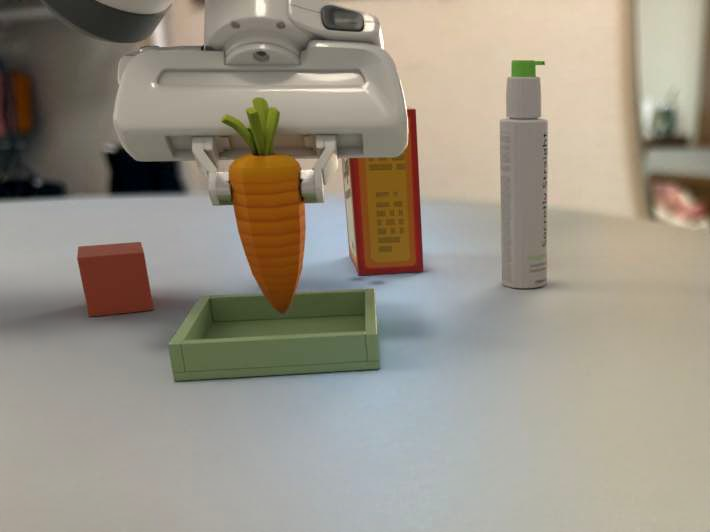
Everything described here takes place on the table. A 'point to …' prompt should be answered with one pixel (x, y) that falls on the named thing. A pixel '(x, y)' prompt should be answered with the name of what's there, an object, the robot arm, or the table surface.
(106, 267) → the terracotta block
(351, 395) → the table surface
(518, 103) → the bottle
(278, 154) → the carrot
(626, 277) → the table surface
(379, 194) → the baking soda box
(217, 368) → the green tray
